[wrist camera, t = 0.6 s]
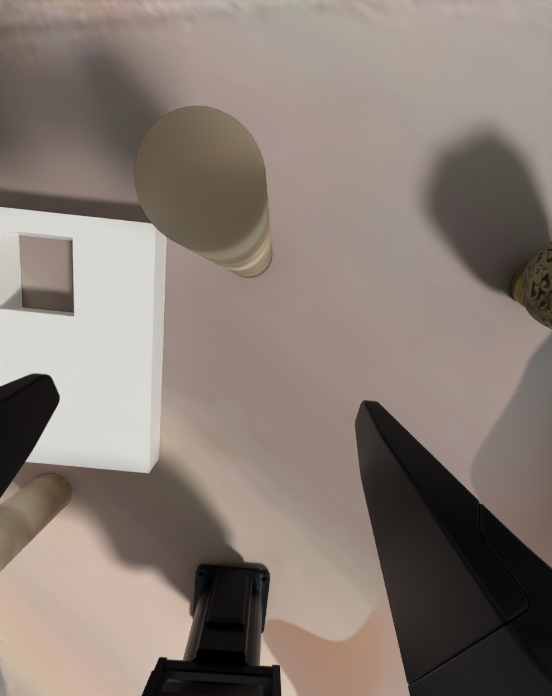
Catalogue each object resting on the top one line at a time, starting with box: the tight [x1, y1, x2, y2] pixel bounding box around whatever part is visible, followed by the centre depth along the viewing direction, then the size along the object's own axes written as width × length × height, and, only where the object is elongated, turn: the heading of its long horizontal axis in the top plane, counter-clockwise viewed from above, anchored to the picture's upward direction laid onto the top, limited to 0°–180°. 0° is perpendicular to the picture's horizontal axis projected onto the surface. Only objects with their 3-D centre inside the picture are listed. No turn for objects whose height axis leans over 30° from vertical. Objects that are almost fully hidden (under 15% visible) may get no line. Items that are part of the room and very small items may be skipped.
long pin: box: [134, 106, 272, 278], centre depth 14 cm, size 3×3×14 cm
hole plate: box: [0, 207, 167, 473], centre depth 22 cm, size 18×12×2 cm, turn 174°
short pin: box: [0, 473, 72, 571], centre depth 21 cm, size 3×3×8 cm
